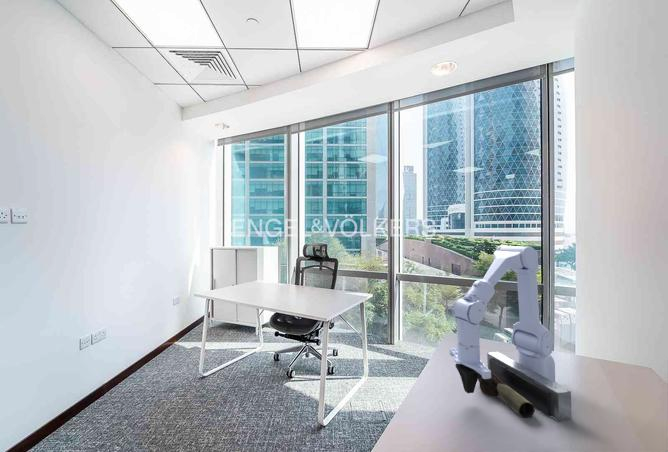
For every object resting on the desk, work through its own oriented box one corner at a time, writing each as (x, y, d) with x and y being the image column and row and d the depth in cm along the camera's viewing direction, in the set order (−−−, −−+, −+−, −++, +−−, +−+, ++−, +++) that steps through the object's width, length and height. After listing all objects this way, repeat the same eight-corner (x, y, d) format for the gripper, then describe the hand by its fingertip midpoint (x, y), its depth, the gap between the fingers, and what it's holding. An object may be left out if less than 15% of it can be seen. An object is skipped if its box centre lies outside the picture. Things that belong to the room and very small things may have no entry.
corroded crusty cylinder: (535, 418, 72) (535, 396, 72) (512, 421, 71) (511, 399, 71) (488, 381, 89) (488, 363, 89) (469, 383, 88) (468, 365, 89)
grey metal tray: (497, 372, 94) (497, 351, 95) (571, 418, 71) (570, 391, 71) (485, 374, 93) (484, 353, 94) (555, 422, 70) (555, 393, 70)
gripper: (440, 335, 85) (441, 379, 85) (473, 355, 71) (474, 409, 71) (461, 332, 87) (461, 377, 86) (497, 352, 72) (498, 405, 72)
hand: (469, 391), depth 79 cm, fingers closed
